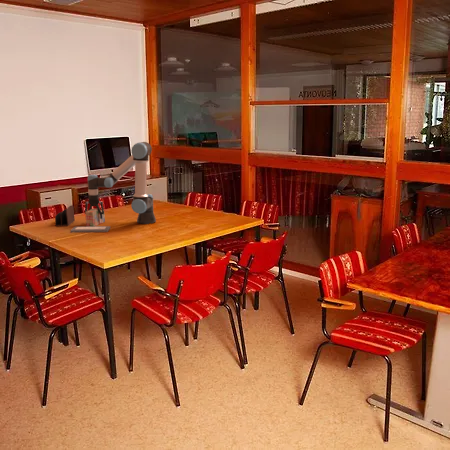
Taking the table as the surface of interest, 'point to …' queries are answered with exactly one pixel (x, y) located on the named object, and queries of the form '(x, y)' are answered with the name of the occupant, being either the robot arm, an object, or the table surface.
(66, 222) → the letter holder
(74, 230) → the base board
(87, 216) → the stack of blocks
